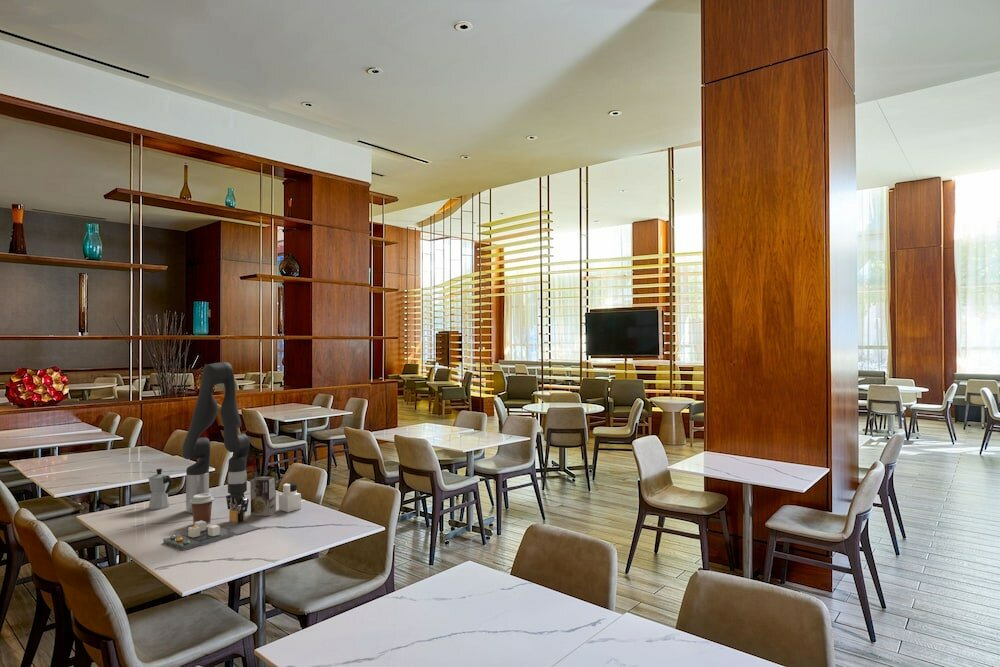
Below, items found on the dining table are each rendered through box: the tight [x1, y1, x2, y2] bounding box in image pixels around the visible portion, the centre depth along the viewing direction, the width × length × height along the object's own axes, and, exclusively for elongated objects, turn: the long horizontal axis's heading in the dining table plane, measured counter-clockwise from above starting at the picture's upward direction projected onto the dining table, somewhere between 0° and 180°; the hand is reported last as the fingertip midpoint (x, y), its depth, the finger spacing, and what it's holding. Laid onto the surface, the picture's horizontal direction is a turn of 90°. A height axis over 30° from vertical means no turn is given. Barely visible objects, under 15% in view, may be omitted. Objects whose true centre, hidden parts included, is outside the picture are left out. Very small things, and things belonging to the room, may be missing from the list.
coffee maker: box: [147, 468, 174, 511], centre depth 272 cm, size 15×9×18 cm, turn 67°
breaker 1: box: [195, 520, 207, 531], centre depth 232 cm, size 4×3×3 cm
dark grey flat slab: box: [162, 526, 235, 551], centre depth 226 cm, size 15×20×2 cm
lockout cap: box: [228, 508, 246, 525], centre depth 249 cm, size 5×5×6 cm
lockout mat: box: [226, 522, 261, 536], centre depth 238 cm, size 10×10×1 cm
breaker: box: [207, 524, 220, 536], centre depth 226 cm, size 4×3×3 cm
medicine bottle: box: [278, 482, 302, 513], centre depth 267 cm, size 7×7×12 cm
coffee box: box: [250, 476, 277, 517], centre depth 260 cm, size 9×6×16 cm
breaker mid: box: [187, 525, 200, 538], centre depth 225 cm, size 4×3×3 cm
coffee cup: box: [190, 492, 215, 526], centre depth 246 cm, size 9×9×12 cm
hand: (237, 520), depth 249 cm, fingers closed on lockout cap, 4 cm apart
